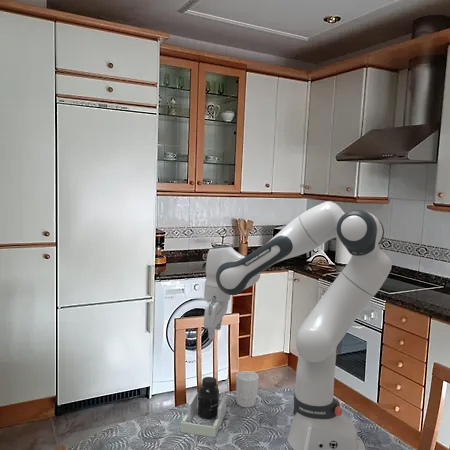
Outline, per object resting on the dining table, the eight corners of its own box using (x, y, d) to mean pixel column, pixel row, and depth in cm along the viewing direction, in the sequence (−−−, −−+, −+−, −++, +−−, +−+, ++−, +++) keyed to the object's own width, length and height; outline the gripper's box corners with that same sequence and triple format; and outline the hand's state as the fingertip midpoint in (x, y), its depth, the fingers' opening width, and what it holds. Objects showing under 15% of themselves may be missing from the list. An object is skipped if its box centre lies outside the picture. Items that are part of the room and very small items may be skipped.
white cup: (254, 410, 148) (255, 381, 147) (232, 406, 150) (233, 378, 150) (259, 399, 156) (260, 372, 155) (238, 396, 158) (239, 369, 157)
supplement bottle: (215, 421, 140) (216, 385, 139) (195, 418, 141) (196, 382, 141) (220, 410, 147) (221, 376, 146) (200, 408, 148) (201, 374, 147)
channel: (225, 412, 146) (226, 396, 145) (220, 425, 138) (220, 408, 137) (194, 407, 148) (195, 392, 148) (187, 420, 140) (187, 404, 140)
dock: (218, 428, 136) (219, 419, 135) (215, 437, 131) (215, 427, 131) (185, 423, 138) (185, 414, 138) (180, 431, 133) (180, 422, 133)
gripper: (219, 302, 134) (217, 345, 135) (232, 287, 153) (229, 325, 155) (200, 299, 135) (197, 342, 136) (214, 286, 155) (212, 323, 156)
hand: (214, 333), depth 145 cm, fingers open, 8 cm apart
